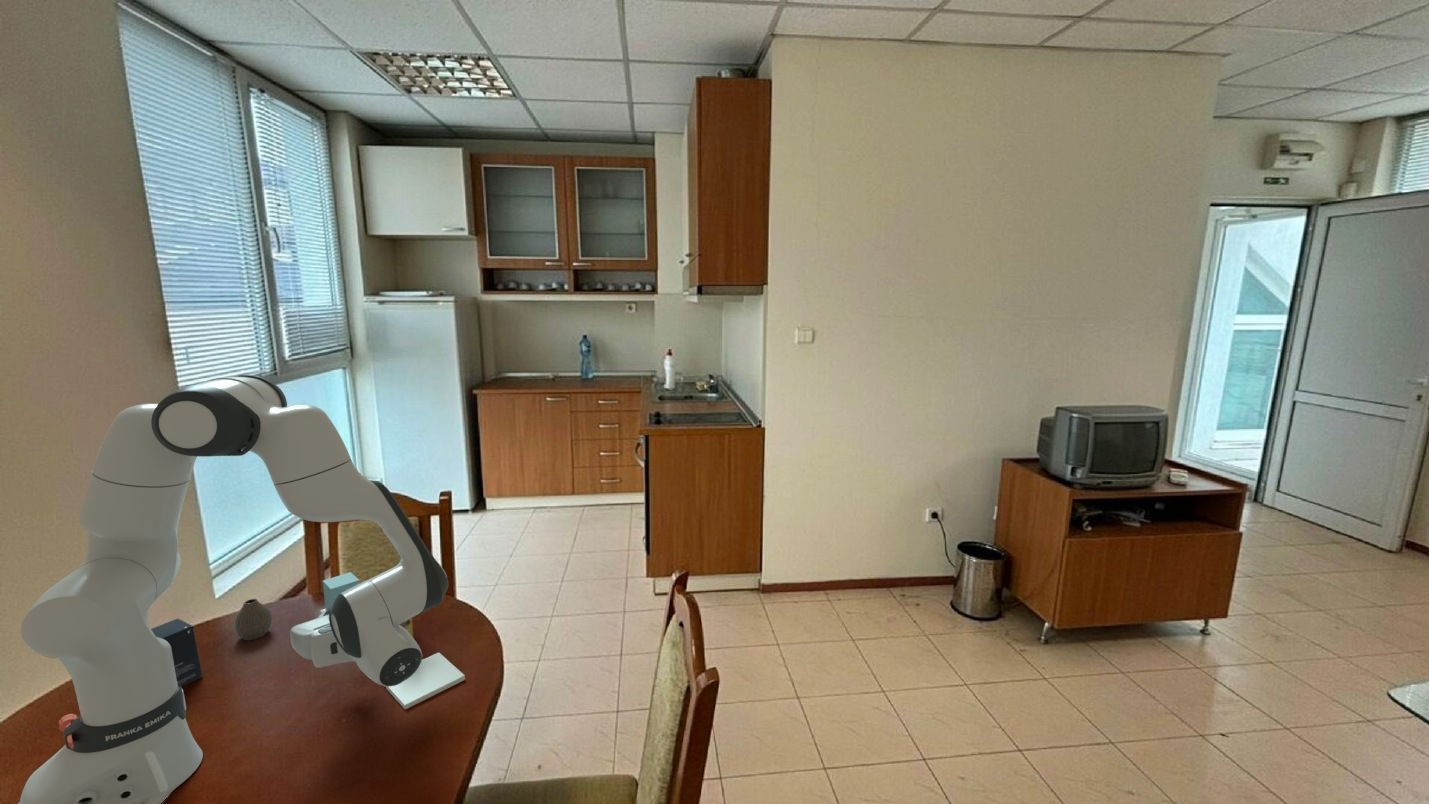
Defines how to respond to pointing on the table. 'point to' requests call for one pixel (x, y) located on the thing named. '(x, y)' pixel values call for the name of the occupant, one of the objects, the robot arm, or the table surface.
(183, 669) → the small box
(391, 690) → the pad
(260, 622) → the vase
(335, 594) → the teal block
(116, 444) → the robot arm
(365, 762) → the table surface
